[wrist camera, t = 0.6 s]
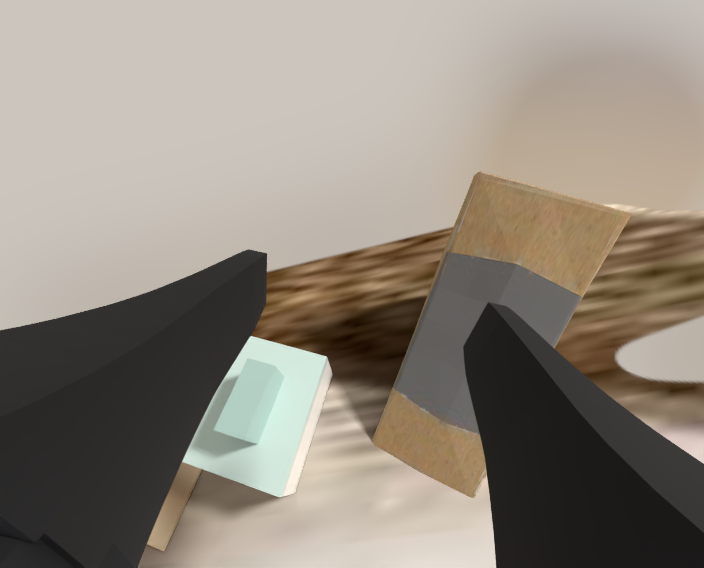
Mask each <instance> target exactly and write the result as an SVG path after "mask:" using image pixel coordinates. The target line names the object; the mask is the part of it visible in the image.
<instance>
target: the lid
mask: <svg viewBox="0 0 704 568" xmlns="http://www.w3.org/2000/svg"><path fill="white" fill-rule="evenodd" d="M327 361H328V359H327V356H323V355H319V354H315V353H312V352H308V351H304V350H300V349H297V348H293V347H289V346H286V345H282V344H278V343H274V342H271V341H267V340H263V339H259V338H256V337H252V336H250V337H249V339H248V341H247V342H246V344H245V346H244V347H243V349H242V350H241V352H240V354H239V355H238V357H237V358H236V360H235V362H234V363H233V365H232V366H231V368H230V370H229V371H228V373H227V374H226V376H225V378H224V379H223V381H222V382H221V384H220V386H219V387H218V389H217V391H216V393H215V395H214V396H213V398H212V400H211V402H210V404H209V406H208V408H207V410H206V412H205V414H204V416H203V418H202V420H201V422H200V424H199V427H198V429H197V431H196V433H195V435H194V437H193V439H192V441H191V444H190V446H189V448H188V450H187V452H186V454H185V456H184V459H183V461H182V462H184V463H187V464H190V465H192V466H195V467H198V468H200V469H203V470H206V471H209V472H211V473H214V474H217V475H220V476H222V477H225V478H228V479H231V480H233V481H236V482H239V483H241V484H244V485H247V486H250V487H252V488H255V489H258V490H261V491H263V492H266V493H269V494H271V495H274V496H277V497H283V495H284V492H285V489H286V485H287V482H288V479H289V476H290V473H291V470H292V467H293V464H294V461H295V458H296V455H297V452H298V449H299V446H300V443H301V440H302V437H303V434H304V431H305V428H306V425H307V422H308V419H309V416H310V413H311V410H312V407H313V404H314V401H315V398H316V395H317V392H318V389H319V386H320V383H321V380H322V376H323V373H324V370H325V367H326V364H327Z"/></svg>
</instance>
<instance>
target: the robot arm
mask: <svg viewBox="0 0 704 568" xmlns="http://www.w3.org/2000/svg"><path fill="white" fill-rule="evenodd" d="M266 277H267V253H262V252H257V251H253V250H246V251H243V252H241V253H238V254H236V255H234V256H232V257H230V258H228V259H225V260H223V261H221V262H219V263H217V264H215V265H213V266H210V267H208V268H206V269H204V270H202V271H199V272H197V273H195V274H193V275H190V276H188V277H185V278H183V279H180V280H178V281H176V282H173V283H171V284H168V285H166V286H163V287H161V288H158V289H156V290H153V291H150V292H148V293H145V294H142V295H139V296H136V297H132V298H130V299H126V300H123V301H120V302H117V303H114V304H110V305H107V306H103V307H99V308H96V309H92V310H88V311H84V312H80V313H77V314H73V315H69V316H65V317H61V318H57V319H53V320H48V321H44V322H39V323H35V324H31V325H25V326H21V327H16V328H11V329H5V330H1V331H0V568H137V567H138V564H139V562H140V559H141V557H142V554H143V552H144V549H145V547H146V544H147V542H148V540H149V537H150V535H151V532H152V530H153V528H154V525H155V523H156V520H157V518H158V516H159V513H160V511H161V508H162V506H163V504H164V501H165V499H166V497H167V495H168V492H169V490H170V488H171V485H172V483H173V481H174V479H175V476H176V474H177V472H178V470H179V467H180V465H181V463H182V461H183V459H184V456H185V454H186V452H187V450H188V448H189V446H190V444H191V441H192V439H193V437H194V435H195V433H196V431H197V429H198V427H199V424H200V422H201V420H202V418H203V416H204V414H205V412H206V410H207V408H208V406H209V404H210V402H211V400H212V398H213V396H214V395H215V393H216V391H217V389H218V387H219V386H220V384H221V382H222V381H223V379H224V378H225V376H226V374H227V373H228V371H229V370H230V368H231V366H232V365H233V363H234V362H235V360H236V358H237V357H238V355H239V354H240V352H241V350H242V349H243V347H244V346H245V344H246V342H247V341H248V339H249V337H250V336H251V334H252V332H253V331H254V329H255V327H256V325H257V323H258V321H259V318H260V316H261V314H262V311H263V309H264V307H265V304H266ZM463 351H464V364H465V374H466V379H467V383H468V388H469V392H470V396H471V400H472V405H473V409H474V413H475V417H476V421H477V425H478V429H479V433H480V438H481V442H482V447H483V452H484V457H485V463H486V471H487V478H488V485H489V493H490V502H491V511H492V521H493V530H494V542H495V555H496V568H704V464H703V463H701V462H700V461H698V460H697V459H696V458H694V457H693V456H691V455H690V454H688V453H687V452H685V451H684V450H682V449H681V448H679V447H678V446H676V445H675V444H673V443H672V442H671V441H669V440H668V439H666V438H665V437H663V436H662V435H660V434H659V433H658V432H656V431H655V430H653V429H652V428H651V427H649V426H648V425H646V424H645V423H644V422H642V421H641V420H640V419H638V418H637V417H636V416H634V415H633V414H632V413H630V412H629V411H628V410H627V409H625V408H624V407H623V406H621V405H620V404H619V403H617V402H616V401H615V400H613V399H612V398H611V397H610V396H608V395H607V394H606V393H605V392H603V391H602V390H601V389H600V388H599V387H597V386H596V385H595V384H594V383H593V382H592V381H590V380H589V379H588V378H587V377H586V376H584V375H583V374H582V373H581V372H580V371H579V370H577V369H576V368H575V367H574V366H573V365H572V364H571V363H570V362H568V361H567V360H566V359H565V358H564V357H563V356H562V355H561V354H560V353H558V352H557V351H556V350H555V349H554V348H553V347H552V346H551V345H550V344H549V343H548V342H547V341H546V340H544V339H543V338H542V337H541V336H540V335H539V334H538V333H537V332H536V331H535V330H534V329H533V328H532V327H531V326H529V325H528V324H527V323H526V322H525V321H524V320H523V319H522V318H521V317H520V316H518V315H517V314H516V313H515V312H514V311H513V310H511V309H510V308H509V307H507V306H504V305H499V304H495V303H490V302H488V303H487V305H486V307H485V308H484V310H483V312H482V314H481V316H480V317H479V319H478V321H477V323H476V324H475V326H474V328H473V330H472V332H471V333H470V335H469V337H468V339H467V341H466V342H465V344H464V346H463Z"/></svg>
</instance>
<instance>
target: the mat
mask: <svg viewBox="0 0 704 568" xmlns="http://www.w3.org/2000/svg"><path fill="white" fill-rule="evenodd" d="M201 471H202V469H200V468H198V467H195V466H192V465H190V464H187V463H184V462H182V463H181V465H180V467H179V470H178V472H177V474H176V476H175V479H174V481H173V483H172V485H171V488H170V490H169V492H168V495H167V497H166V499H165V501H164V504H163V506H162V508H161V511H160V513H159V516H158V518H157V520H156V523H155V525H154V528H153V530H152V532H151V535H150V537H149V540H148V542H147V544H148V545H150V546H152V547H154V548H157V549H159V550H161V551H164V550H165V549H166V547H167V545H168V543H169V540H170V538H171V536H172V534H173V532H174V530H175V527H176V525H177V523H178V521H179V519H180V517H181V514H182V512H183V510H184V508H185V506H186V504H187V501H188V499H189V497H190V495H191V493H192V491H193V488H194V486H195V484H196V482H197V480H198V478H199V475H200V473H201Z"/></svg>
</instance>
